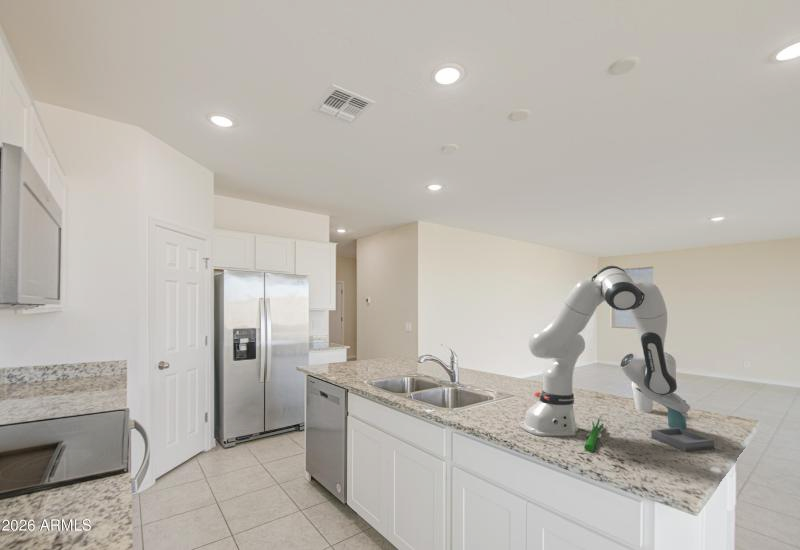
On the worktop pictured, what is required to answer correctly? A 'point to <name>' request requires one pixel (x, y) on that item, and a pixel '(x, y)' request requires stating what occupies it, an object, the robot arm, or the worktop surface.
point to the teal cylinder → (676, 419)
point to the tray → (682, 439)
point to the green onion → (593, 436)
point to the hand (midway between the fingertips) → (678, 412)
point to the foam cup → (641, 400)
